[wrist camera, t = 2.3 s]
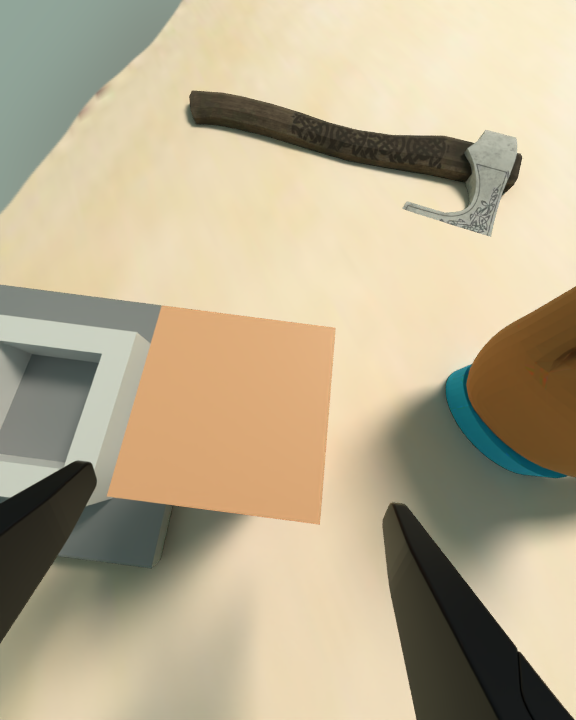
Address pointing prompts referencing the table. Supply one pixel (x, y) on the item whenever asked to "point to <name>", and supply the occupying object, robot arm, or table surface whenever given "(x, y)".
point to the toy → (524, 393)
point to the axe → (382, 151)
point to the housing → (77, 410)
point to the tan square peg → (230, 416)
